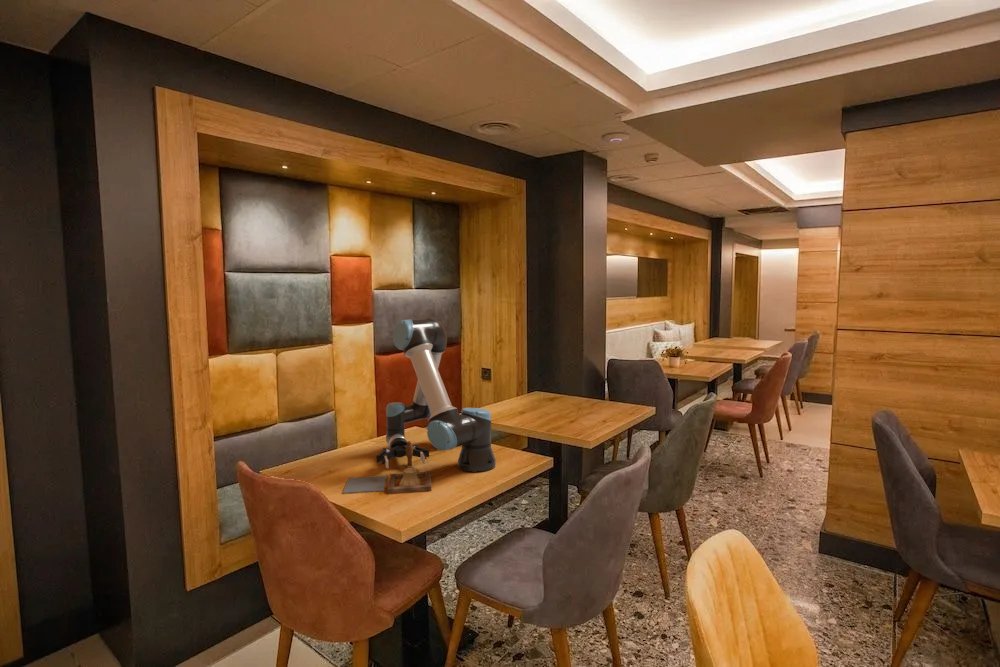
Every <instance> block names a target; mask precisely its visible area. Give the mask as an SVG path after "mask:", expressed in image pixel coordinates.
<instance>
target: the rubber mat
mask: <svg viewBox="0 0 1000 667" xmlns="http://www.w3.org/2000/svg"><path fill="white" fill-rule="evenodd" d="M387 477H388V476H387V475H380V476H379V475H378V476H377V475H376V476H375V475H374V476H359V477H358V476H357V477H348V478H347V481H346V483H345V486H344V489H343V491H342V494H343V493H349V494H359V493H358V492H364V493H374V492H373V491H379V492H384V491H385V489H386V488H385V487H386V482H387Z"/></svg>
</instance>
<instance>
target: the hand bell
mask: <svg viewBox="0 0 1000 667" xmlns="http://www.w3.org/2000/svg"><path fill="white" fill-rule="evenodd" d="M413 447H414V446H413V445H412V441H409V440H407V446H406V455H407V456H406V457H407V459H406V460H407V468H404V470H403V473H404V474H403V478H402V479H400V481H399V482H398V487H400V486H416V485H423V484H422V481H421V479H420V478H418V477H417V473H416V472H417V469H416V468H414V467H413V456H412V455H413Z"/></svg>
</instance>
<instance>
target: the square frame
mask: <svg viewBox="0 0 1000 667" xmlns="http://www.w3.org/2000/svg"><path fill="white" fill-rule="evenodd" d="M431 472H432V471H418V472H417V471H416V473H417V477H418V479H424V478H425V480H424V481H425V484H421V485H416V486H396V480H402V478H403V474H404V472H402V473H401V472H400V473H390V474H389V480H388V486H387V494H388V493H391V494H400V493H399V492H406V493H414V492H413V491H421V492H429V491H428V490H431V491H432V473H431Z"/></svg>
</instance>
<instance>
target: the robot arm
mask: <svg viewBox="0 0 1000 667" xmlns="http://www.w3.org/2000/svg"><path fill="white" fill-rule="evenodd" d="M392 340H393V344H394V346H395V348H397V349H398V350H400V351H403V354H404V356H405V357H406V358H409V359H410V361H411V363H412V367H413V369H414V371H415V375H416V378H417V382H416V386H415V391H414V394H413V399H412V403H411V404H408V405H405V404H404V403H403V402H399V401H398V402H397V401H396V402H395V401H394V402H389V403H388V404H387V405H386V408H385V412H386V413H385V415H386V416H385V417H386V418H385V419H386V436H385V437H386V438H385V441H386V444H387V445H388V447H389V449H387V448H384V447H383V449H382V450H381V451H379V453H378V454H377V455H376V456H375V457H376V459H375V461H376V463H377V464H378V463H380V462H381V465H385V468H386V469H389V461H390V460H391V459H395V458H403V457H405V456H406V457H407V455H406V446H407V442H408V440H407V439H406V436H405V435H406V434H405V430H406V429H405V425H406V424H409V423H412V422H416V421H417V422H418V421H421V420H425V419H426V420H427V419H428V418H429V417H430V418H429V422H430V423H429V425H428V427H427V426H426V427H427V428H426V434H427V438H428V441H429V443H431V445H432V446H433V448H435V449H437V450H438V451H443V452H444V451H447V450H448V451H449V450H453V449H455V448H457V447H461V449H460V453H459V455H458V459H457V467H458V468H459V469H460V470H462V471H464V472H469V471H470V472H469V473H478V472H477V471H483V472H486V471H485V470H488V471H490V470H489V469H491V470H493V469H494V468H495V467H496V466H495V465H496V461H497V460H496V457H495V455H494V451H493V448H492V415H491V412H490V411H489V410H487V409H485V408H480V407H462V409H461V411H460V412H459V410H458V408H457V407H455V406H453V405H452V402H451V400H450V398H449V395H448V392H447V389H446V387H445V384H444V381H443V379H442V377H441V374H440V371H439V367H440V363H441V359H442V355H443V353H445V352H446V349H447V343H448V336H447V331H446V328H445V326H444V325H443V324H442V323H441V322H440V321H439V320H437V319H436V318H432V317H426V318H407V319H402V320H399V321H398V322H397V323H396V324H395V326H394V328H393V332H392ZM460 413H461V414H460ZM412 447H413V455H412V457H415V458H420V461H421V463H422V465H426V460H427V458H429V457H430V450H429V449H426V448H424V447H421V446H419V445H418V444H415V445H414V446H412ZM493 467H494V468H493ZM492 468H493V469H492ZM471 471H472V472H471Z"/></svg>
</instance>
